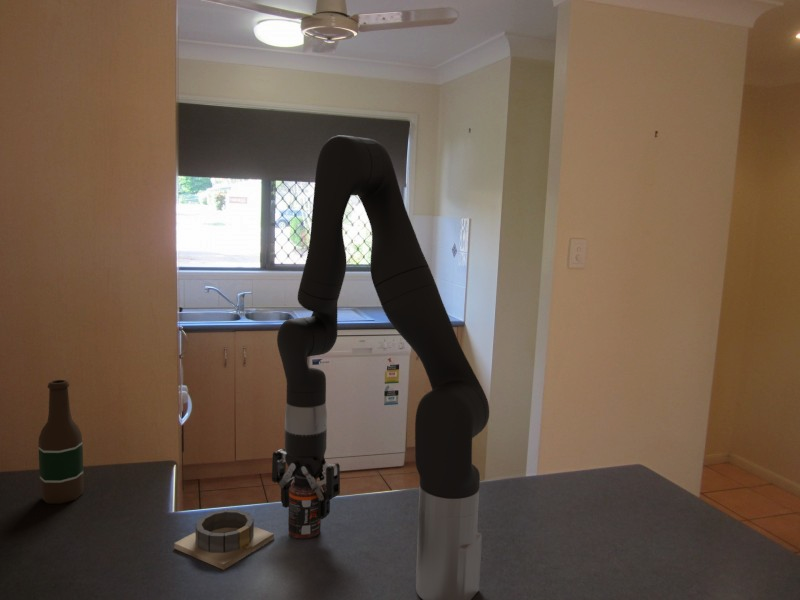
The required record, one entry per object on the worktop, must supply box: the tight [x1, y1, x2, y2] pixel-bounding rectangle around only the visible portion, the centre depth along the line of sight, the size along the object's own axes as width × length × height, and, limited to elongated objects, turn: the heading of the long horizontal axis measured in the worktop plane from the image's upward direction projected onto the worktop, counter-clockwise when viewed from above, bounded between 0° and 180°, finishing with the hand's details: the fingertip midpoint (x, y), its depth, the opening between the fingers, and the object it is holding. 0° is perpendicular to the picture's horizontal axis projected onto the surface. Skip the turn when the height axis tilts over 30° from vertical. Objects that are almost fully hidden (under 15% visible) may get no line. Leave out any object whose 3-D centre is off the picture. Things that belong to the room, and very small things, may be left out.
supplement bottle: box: [288, 474, 322, 540], centre depth 113 cm, size 6×6×11 cm
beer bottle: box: [38, 379, 85, 505], centre depth 123 cm, size 8×8×24 cm
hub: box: [173, 509, 275, 571], centre depth 108 cm, size 12×12×4 cm
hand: (304, 511), depth 113 cm, fingers open, 8 cm apart
